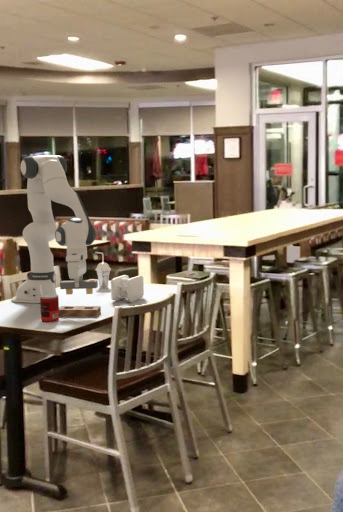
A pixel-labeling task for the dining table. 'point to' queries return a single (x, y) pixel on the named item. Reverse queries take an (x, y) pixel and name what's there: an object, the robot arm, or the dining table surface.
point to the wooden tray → (80, 311)
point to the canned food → (49, 307)
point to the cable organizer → (127, 288)
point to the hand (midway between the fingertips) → (78, 286)
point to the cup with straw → (103, 272)
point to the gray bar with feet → (83, 285)
